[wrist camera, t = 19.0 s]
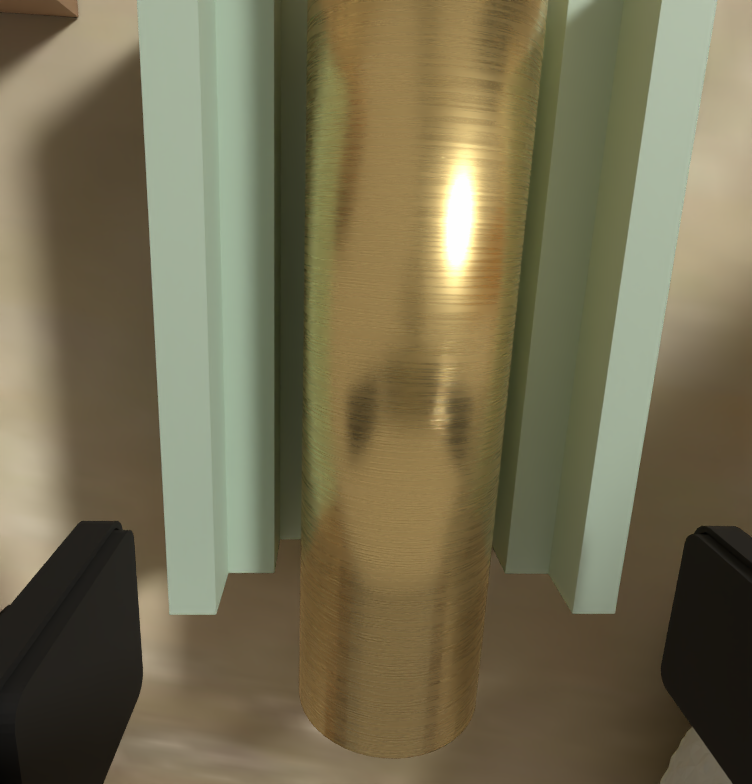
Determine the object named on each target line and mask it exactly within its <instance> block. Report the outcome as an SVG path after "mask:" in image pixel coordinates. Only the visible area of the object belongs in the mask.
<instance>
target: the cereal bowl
mask: <svg viewBox="0 0 752 784" xmlns="http://www.w3.org/2000/svg"><path fill="white" fill-rule="evenodd" d="M660 784H732V782H731V781H730V779H729V778H728V777H727V775H726V774H725V772H724V771H723V770H722V768H721V767H720V765H719V764H718V762H717V761H716V760H715V758H714V757H713V755H712V754H711V752H710V751H709V750H708V748H707V747H706V745H705V744H704V742H703V741H702V740H701V738H700V737H699V735H698V734H697V733H696V731H695V730H694V728H693V727H691V728H690V729H689V730H688V731H687V732H686V735H685V737H683V738H682V740H681V742H680V745H679V747H678V749H677V750H676V751H675V752H674V754H673V755H672V756H671V760H670V764H669V768H668V769H667V771H666V772H665V774H664V775H663V777H662V779H661V782H660Z"/></svg>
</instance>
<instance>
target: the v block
mask: <svg viewBox="0 0 752 784" xmlns="http://www.w3.org/2000/svg"><path fill="white" fill-rule="evenodd" d="M716 5H717V0H549V1H548V10H547V20H546V30H545V39H544V49H543V58H542V68H541V78H540V87H539V97H538V107H537V116H536V126H535V136H534V145H533V155H532V165H531V174H530V184H529V194H528V203H527V213H526V222H525V232H524V242H523V251H522V261H521V271H520V280H519V290H518V300H517V309H516V319H515V329H514V338H513V348H512V357H511V367H510V377H509V386H508V396H507V406H506V415H505V425H504V435H503V444H502V454H501V464H500V473H499V483H498V493H497V502H496V512H495V521H494V531H493V541H492V547H493V549H494V551H495V553H496V555H497V557H498V559H499V562H500V564H501V566H502V568H503V570H504V572H505V574H549V576H550V577H551V579H552V581H553V582H554V584H555V586H556V587H557V589H558V591H559V592H560V594H561V596H562V597H563V599H564V601H565V602H566V604H567V606H568V607H569V609H570V611H571V612H572V614H615V610H616V604H617V598H618V592H619V586H620V580H621V574H622V568H623V562H624V556H625V550H626V544H627V538H628V532H629V526H630V520H631V514H632V508H633V502H634V496H635V490H636V484H637V478H638V472H639V466H640V460H641V454H642V448H643V442H644V436H645V430H646V424H647V418H648V412H649V406H650V400H651V394H652V388H653V382H654V376H655V370H656V364H657V358H658V352H659V346H660V340H661V334H662V328H663V322H664V316H665V310H666V304H667V298H668V292H669V286H670V281H671V275H672V269H673V263H674V257H675V251H676V245H677V239H678V233H679V227H680V221H681V215H682V209H683V203H684V197H685V191H686V185H687V179H688V173H689V167H690V161H691V155H692V149H693V143H694V137H695V131H696V125H697V119H698V113H699V107H700V101H701V95H702V89H703V83H704V77H705V71H706V65H707V59H708V53H709V47H710V41H711V35H712V29H713V23H714V17H715V11H716ZM137 9H138V28H139V47H140V66H141V85H142V104H143V123H144V142H145V161H146V180H147V199H148V218H149V237H150V256H151V275H152V294H153V313H154V332H155V351H156V370H157V389H158V408H159V426H160V445H161V464H162V483H163V502H164V521H165V540H166V559H167V578H168V597H169V615H216V613H217V610H218V607H219V603H220V600H221V597H222V593H223V590H224V587H225V583H226V580H227V576H228V573H275V567H276V561H277V555H278V549H279V543H280V539H301V490H302V408H303V326H304V243H305V161H306V79H307V0H137Z"/></svg>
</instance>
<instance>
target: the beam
mask: <svg viewBox="0 0 752 784" xmlns="http://www.w3.org/2000/svg"><path fill="white" fill-rule="evenodd" d="M0 12H8V13H23V14H38V15H54V16H69V17H78V4H77V0H0Z"/></svg>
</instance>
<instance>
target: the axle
mask: <svg viewBox="0 0 752 784" xmlns="http://www.w3.org/2000/svg"><path fill="white" fill-rule="evenodd" d="M548 1H549V0H307V79H306V161H305V243H304V326H303V408H302V490H301V572H300V655H299V696H300V701H301V705H302V707H303V710H304V712H305V714H306V716H307V717H308V719H309V720H310V722H311V723H312V724H313V725H314V727H315V728H316V729H317V730H318V731H319V732H321V733H322V734H323V735H324V736H325V737H327V738H328V739H329V740H331V741H332V742H334V743H336V744H338V745H340V746H341V747H343V748H345V749H348V750H351V751H353V752H356V753H359V754H363V755H367V756H372V757H379V758H408V757H414V756H419V755H423V754H426V753H429V752H433V751H435V750H437V749H439V748H441V747H443V746H445V745H447V744H448V743H450V742H451V741H453V740H454V739H455V738H456V737H457V736H459V735H460V734H461V733H462V732H463V730H464V729H465V728H466V727H467V725H468V724H469V722H470V720H471V718H472V716H473V713H474V710H475V704H476V695H477V685H478V676H479V666H480V656H481V647H482V637H483V628H484V618H485V608H486V599H487V589H488V579H489V570H490V560H491V550H492V541H493V531H494V521H495V512H496V502H497V493H498V483H499V473H500V464H501V454H502V444H503V435H504V425H505V415H506V406H507V396H508V386H509V377H510V367H511V357H512V348H513V338H514V329H515V319H516V309H517V300H518V290H519V280H520V271H521V261H522V251H523V242H524V232H525V222H526V213H527V203H528V194H529V184H530V174H531V165H532V155H533V145H534V136H535V126H536V116H537V107H538V97H539V87H540V78H541V68H542V58H543V49H544V39H545V30H546V20H547V10H548Z"/></svg>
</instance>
